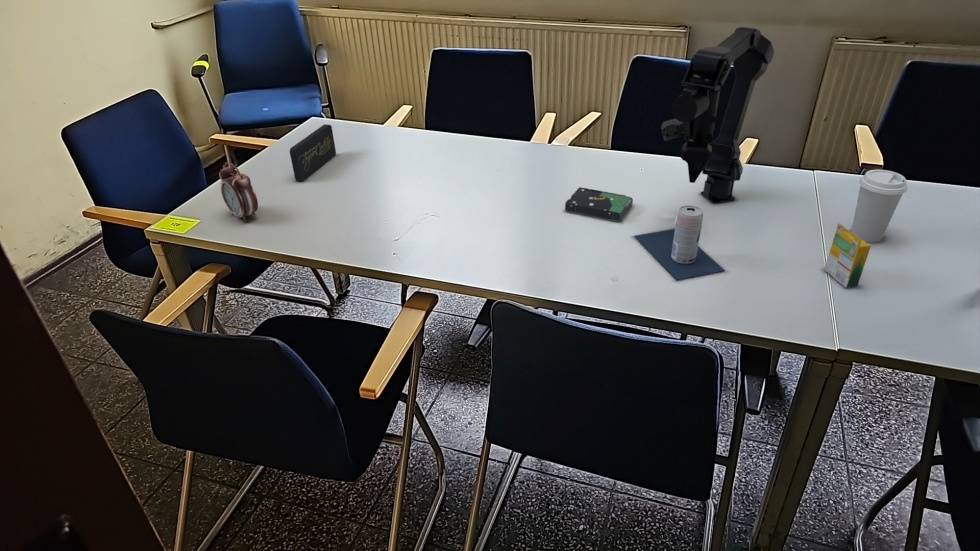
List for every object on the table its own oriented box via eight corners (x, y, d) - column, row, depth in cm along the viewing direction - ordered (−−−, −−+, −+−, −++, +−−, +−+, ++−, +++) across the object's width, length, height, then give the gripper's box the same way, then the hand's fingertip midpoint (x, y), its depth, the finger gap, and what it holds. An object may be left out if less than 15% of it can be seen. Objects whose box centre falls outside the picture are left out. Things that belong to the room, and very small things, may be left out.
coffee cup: (870, 250, 148) (891, 189, 140) (834, 232, 155) (851, 173, 147) (898, 239, 152) (919, 179, 143) (861, 222, 159) (880, 164, 151)
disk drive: (564, 212, 168) (620, 222, 162) (564, 202, 166) (621, 212, 160) (578, 196, 175) (632, 205, 170) (578, 186, 174) (633, 195, 168)
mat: (677, 229, 159) (677, 228, 158) (724, 271, 142) (724, 270, 142) (634, 236, 156) (634, 235, 156) (676, 280, 140) (676, 279, 140)
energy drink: (696, 254, 148) (704, 206, 142) (694, 266, 144) (703, 218, 137) (672, 250, 150) (678, 203, 143) (669, 262, 145) (676, 214, 139)
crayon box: (858, 286, 136) (874, 237, 130) (845, 288, 136) (861, 239, 129) (835, 268, 142) (850, 220, 136) (823, 270, 142) (837, 222, 135)
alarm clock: (225, 213, 172) (211, 160, 164) (242, 207, 175) (228, 154, 167) (247, 226, 166) (233, 171, 158) (264, 219, 169) (251, 165, 161)
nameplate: (301, 182, 187) (294, 149, 182) (295, 182, 188) (288, 149, 182) (336, 154, 204) (331, 123, 199) (331, 154, 205) (325, 123, 199)
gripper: (670, 94, 155) (663, 155, 164) (661, 120, 140) (653, 187, 149) (719, 97, 152) (709, 160, 160) (715, 125, 137) (704, 192, 146)
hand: (693, 174), depth 154 cm, fingers open, 9 cm apart
